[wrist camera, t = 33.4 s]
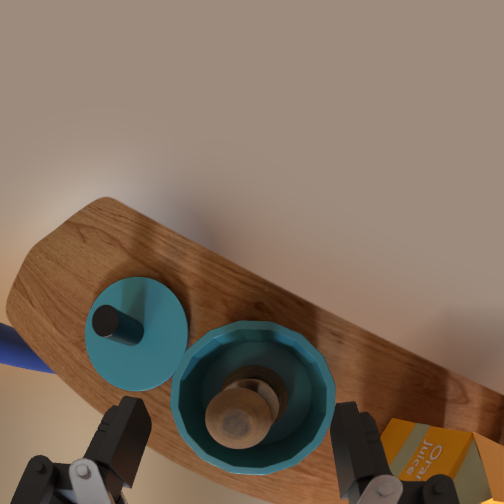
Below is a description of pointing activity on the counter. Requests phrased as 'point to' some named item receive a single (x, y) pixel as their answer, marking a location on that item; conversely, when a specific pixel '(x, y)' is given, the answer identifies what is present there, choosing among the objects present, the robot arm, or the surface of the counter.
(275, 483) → the counter surface
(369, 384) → the counter surface
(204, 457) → the pot
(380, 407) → the counter surface
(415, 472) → the orange juice
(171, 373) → the lid
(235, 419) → the mortar and pestle
